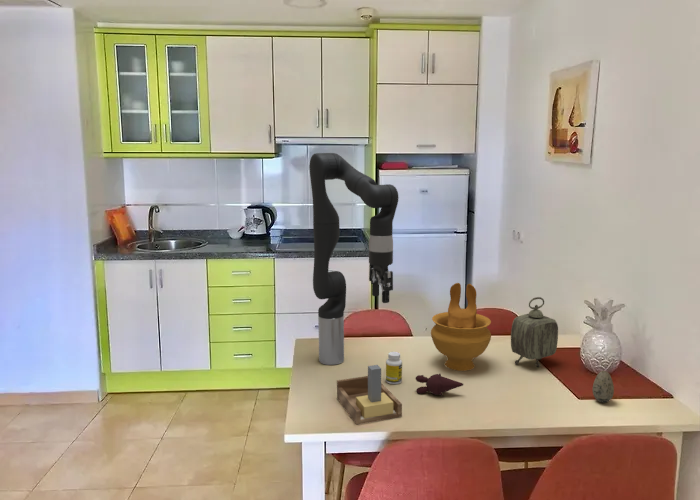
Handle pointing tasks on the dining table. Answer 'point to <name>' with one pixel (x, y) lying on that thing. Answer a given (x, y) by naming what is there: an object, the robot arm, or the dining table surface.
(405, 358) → the dining table surface
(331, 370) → the dining table surface
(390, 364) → the supplement bottle
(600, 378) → the decorative egg
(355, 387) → the bay
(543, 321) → the tabletop clock
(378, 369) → the block with grey post
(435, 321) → the decorative bowl
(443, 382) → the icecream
